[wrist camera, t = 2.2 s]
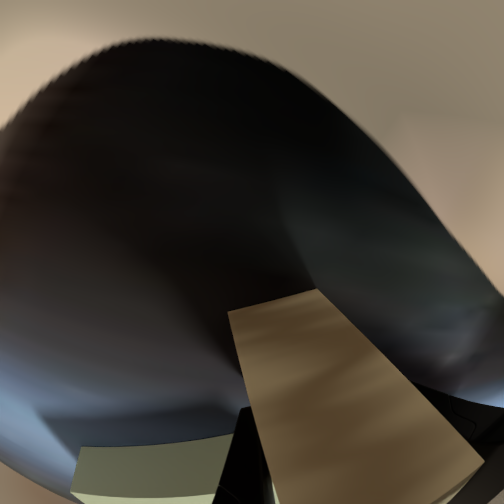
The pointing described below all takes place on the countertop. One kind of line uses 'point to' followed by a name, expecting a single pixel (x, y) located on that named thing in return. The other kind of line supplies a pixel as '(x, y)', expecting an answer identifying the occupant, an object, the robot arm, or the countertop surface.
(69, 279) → the countertop surface
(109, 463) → the well holder
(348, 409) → the peg
